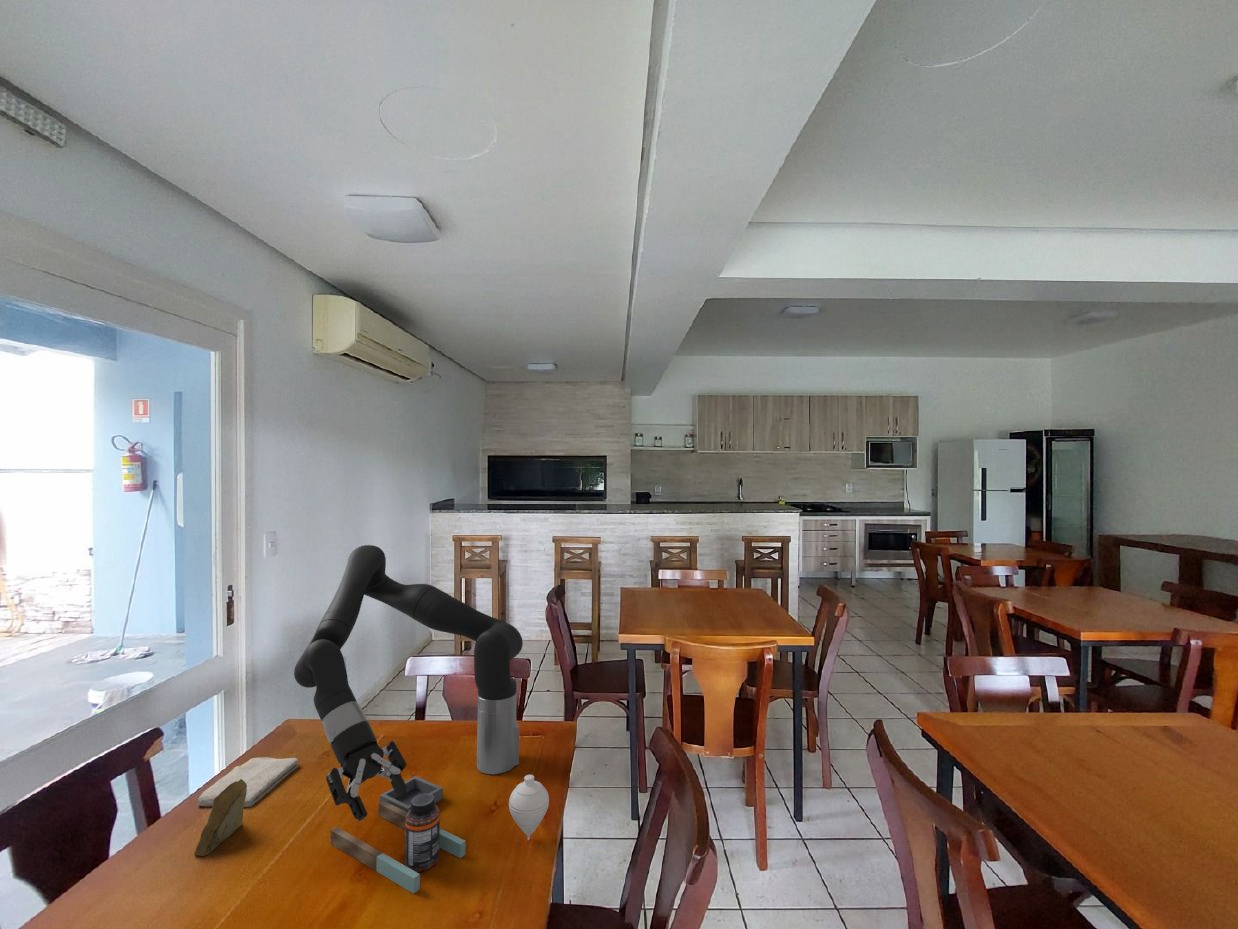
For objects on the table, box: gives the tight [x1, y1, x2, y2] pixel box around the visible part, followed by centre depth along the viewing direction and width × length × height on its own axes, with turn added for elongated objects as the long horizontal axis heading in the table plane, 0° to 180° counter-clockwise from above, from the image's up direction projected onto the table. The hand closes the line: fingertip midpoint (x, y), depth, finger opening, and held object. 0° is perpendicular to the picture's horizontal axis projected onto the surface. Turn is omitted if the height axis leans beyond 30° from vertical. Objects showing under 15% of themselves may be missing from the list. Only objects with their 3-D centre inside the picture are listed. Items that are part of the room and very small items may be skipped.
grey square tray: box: [379, 775, 444, 812], centre depth 118 cm, size 9×9×2 cm
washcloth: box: [196, 756, 299, 808], centre depth 125 cm, size 12×18×3 cm, turn 0°
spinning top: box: [508, 774, 550, 841], centre depth 107 cm, size 8×8×12 cm
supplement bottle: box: [404, 793, 441, 873], centre depth 100 cm, size 6×6×11 cm
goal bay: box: [375, 828, 467, 894], centre depth 100 cm, size 10×11×2 cm
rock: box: [193, 779, 247, 857], centre depth 106 cm, size 11×9×10 cm
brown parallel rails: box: [330, 801, 408, 872], centre depth 106 cm, size 14×11×2 cm
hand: (383, 806), depth 106 cm, fingers open, 8 cm apart
